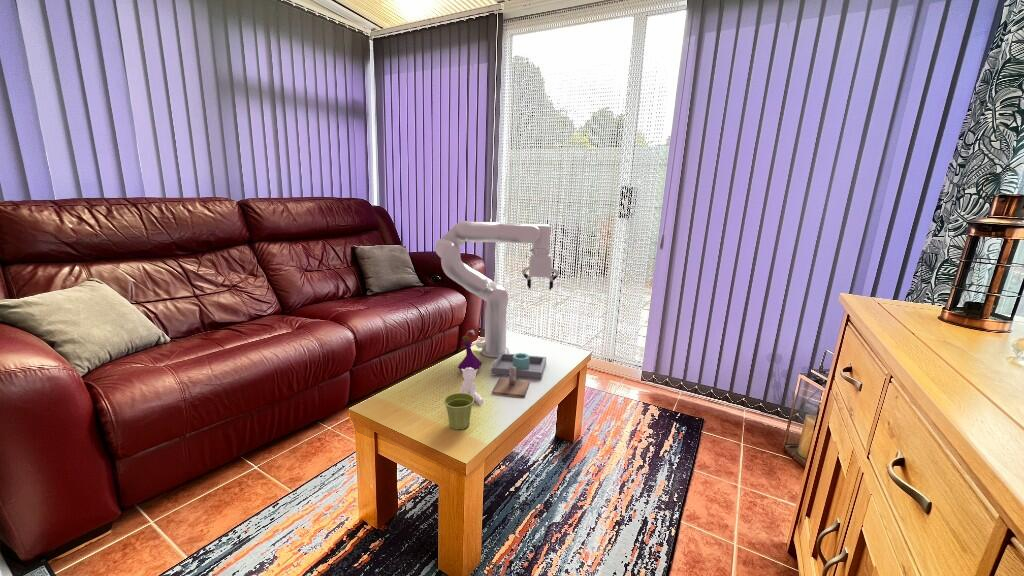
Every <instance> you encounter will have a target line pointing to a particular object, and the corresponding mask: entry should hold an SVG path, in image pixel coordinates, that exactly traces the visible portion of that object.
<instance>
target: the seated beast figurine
mask: <svg viewBox="0 0 1024 576" xmlns="http://www.w3.org/2000/svg"><path fill="white" fill-rule="evenodd" d="M461 370H462V371H461ZM461 370H460V371H461V373H462V372H463V373H462V377H463V379H464V380H463V381H462V384H461V388H460V391H459V393H467V394H470V395H472V396H473V397H474V403H473V404H479V405H480V406H481V404H482V405H483V403H484V400H483V398H482V396H481V395H480V394H479V393H478V390H477V388H476V383H475V381H474V379H475V378H476V376H477V375H476V374H477V372H478V371H479V369H477V370H478V371H477V370H474V369H473V368H471V367H469V368H465V369H461Z"/></svg>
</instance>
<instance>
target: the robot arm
mask: <svg viewBox="0 0 1024 576" xmlns="http://www.w3.org/2000/svg"><path fill="white" fill-rule="evenodd" d="M550 241H551V226H550V225H549V224H546V223H536V224H531V223H530V224H529V223H521V224H510V223H503V222H498V221H491V222H490V221H467V220H461V221H459V222H458V223H457V224H454V226H453V227H452V228H451V229H450V230H448V231H447V232H446V233H445V234H444V235H443V236H442V237H440V239H439V240H438V241H437V242H436V244H435V245H434V246H435V247H434V249H435V253H436V255H437V256H438V257H439V258H440V262H441V263H440V264H441V269H442V270H443V273H444V274H445V275H446V276H447V277H448V278H449V279H451V280H452V281H453V282H455V283H457V284H458V285H460V286H462V288H464V289H465V290H466V291H468V292H469V293H471V294H474V295H475V296H477V297H478V298H480V299H482V300H483V301H485V303H486V306H485V310H484V311H485V312H484V341H482V342H481V341H476V343H475V345H476V346H475V347H476V348H477V349H478V348H479V349H481V354H482V355H483V356H484V357H487V358H495V359H496V358H498V357H499V355H500V353H507V354H510V349H509V348H508V347H507V309H508V302H509V293H508V291H507V290H506V288H504V287H503V286H502V285H500V284H499V283H497V282H495V281H493V280H492V279H490V278H488V277H487V276H485V274H482V273H481V272H480V271H478V270H476V269H473V268H471V267H470V266H469V265H468V264H466V263H464V262H463V261H462V257H461V248H460V247H462V246H463V245H464V244H465V243H466V242H467V243H500V244H501V243H502V244H503V243H505V244H506V243H507V244H509V243H513V244H514V243H515V244H532V248H529V252H530V253H531V254H530V258H529V265H528V267H526V268H523V269H522V270H521V273H522V275H523V277H524V278H525V279H526V281H527V282H526V286H527V288H528V289H529V290H530V289H531V288H532V279H531V278H532V277H533V278H548V280H549V288H548V289H549V291H551V290H552V289H554V288H553V287H554V281H555V280H556V279H557V278H558V276H559V275H560V271H559V270H558V269H557V268H556V269H555V267H553V263H552V262H553V261H552V255H551V254H550V251H551V250H550V249H551V246H550V245H551V242H550ZM527 271H528V274H527ZM553 273H554V274H555V275H554V276H553V275H552V274H553Z"/></svg>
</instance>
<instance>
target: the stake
mask: <svg viewBox="0 0 1024 576" xmlns="http://www.w3.org/2000/svg"><path fill="white" fill-rule="evenodd" d="M530 384H531V383H530V380H526V379H517V377H516V367H514V366H511V367H509V376H508V377H499V378H498V379H497V381H496V383H495V384H494V387H493V388H492V391H491V395H497V396H507V397H516V398H526V395H527V391H528V389H529V387H530Z"/></svg>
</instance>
